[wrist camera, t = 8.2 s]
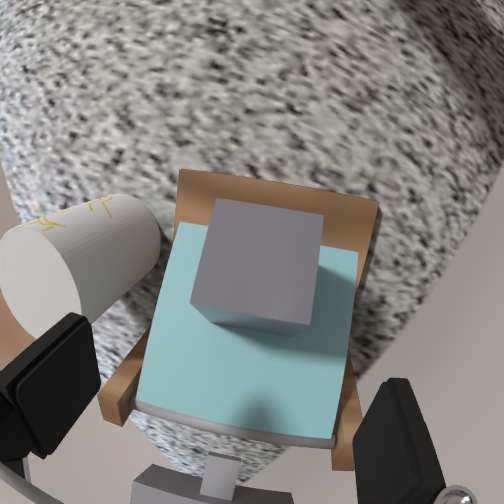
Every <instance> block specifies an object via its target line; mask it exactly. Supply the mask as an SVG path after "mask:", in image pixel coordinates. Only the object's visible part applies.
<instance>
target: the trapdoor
mask: <svg viewBox="0 0 504 504" xmlns="http://www.w3.org/2000/svg"><path fill="white" fill-rule="evenodd" d="M208 227H209V226H204V225H198V224H192V223H186V222H180V223H179V226H178V230H177V233H176V236H175V240H174V243H173V246H172V250H171V253H170V257H169V260H168V264H167V268H166V271H165V275H164V279H163V282H162V286H161V290H160V294H159V297H158V301H157V305H156V309H155V313H154V317H153V321H152V326H151V330H150V334H149V338H148V343H147V347H146V352H145V356H144V361H143V366H142V370H141V375H140V380H139V385H138V390H137V395H133V397H132V399H131V403H130V407H131V409H134V410H137V411H140V412H143V413H146V414H149V415H152V416H155V417H159V418H162V419H165V420H169V421H172V422H175V423H179V424H183V425H186V426H190V427H194V428H198V429H202V430H206V431H211V432H215V433H219V434H224V435H229V436H234V437H239V438H244V439H250V440H256V441H262V442H268V443H275V444H282V445H290V446H299V447H309V448H320V449H333V447H334V444H335V435H334V434H332V432H333V427H334V423H335V418H336V413H337V408H338V403H339V398H340V393H341V387H342V382H343V376H344V370H345V364H346V358H347V351H348V344H349V337H350V330H351V322H352V314H353V305H354V296H355V286H356V275H357V263H358V252H354V251H348V250H343V249H337V248H332V247H326V246H321V245H320V254H319V262H318V270H317V278H316V285H315V292H314V300H313V307H312V313H311V320H310V325H309V326H308V327H306V328H305V329H304V330H302V331H301V332H300V333H298V334H297V335H296V336H294V337H287V336H281V335H275V334H269V333H263V332H258V331H252V330H247V329H242V328H236V327H231V326H226V325H221V324H216V323H212V322H209V321H208V320H207V319H206V318H205V317H204V316H203V315H202V314H201V313H200V312H199V311H197V310H196V309H195V308H194V307H193V306H192V305H191V304H190V303H189V302H190V298H191V294H192V290H193V286H194V281H195V277H196V273H197V269H198V265H199V261H200V257H201V253H202V250H203V246H204V242H205V238H206V234H207V230H208ZM240 462H241V458H239V457H234V456H229V455H224V454H219V453H215V452H210V451H209V453H208V455H207V460H206V465H205V470H204V475H203V478H200V477H196V476H192V475H189V474H185V473H181V472H178V471H174V470H171V469H167V468H164V467H161V466H157V465H155V464H152V465H151V466H150V467H148V468H147V469H146V470H145V471H144V472H143V473H141V474H140V475H139V476H138V477H137V478H136V479H134V481H133V485H132V492H131V501H130V504H294V502H293V498H292V494H291V493H289V492H279V491H271V490H263V489H256V488H250V487H244V486H238V485H235V484H236V480H237V476H238V471H239V467H240Z"/></svg>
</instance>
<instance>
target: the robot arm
mask: <svg viewBox="0 0 504 504" xmlns="http://www.w3.org/2000/svg"><path fill="white" fill-rule="evenodd" d="M100 386H101V379H100V374H99V369H98V363H97V358H96V352H95V346H94V340H93V333H92V326H91V324H90V323H89V322H88V319H87V317H85V316H83V315H80V314H77V313H74V312H70V313H68V314H67V315H66V316H64V317H63V318H62V319H61V320H59V321H58V322H57V323H56V324H55V325H53V326H52V327H51V328H50V329H49V330H47V331H46V332H45V333H44V334H43V335H41V336H40V337H39V338H38V339H37V340H36V341H34V342H33V343H32V344H31V345H30V346H29V347H27V348H26V349H25V350H24V351H23V352H22V353H21V354H19V355H18V356H17V357H16V358H15V359H14V360H13V361H11V363H9V364H8V365H7V366H6V367H5V368H4V369H3V370H2V371H0V504H64V503H62V502H60V501H59V500H57V499H55V498H53V497H52V496H50V495H48V494H47V493H45V492H43V491H42V490H40V489H39V488H37V487H35V486H34V485H32V483H31V477H30V472H29V465H28V458H27V455H28V454H29V453H30V451H31V452H32V453H34V454H35V455H37V456H38V457H40V458H41V459H43V460H44V459H45V458H46V456H47V455H51V454H52V453H53V452H54V451H55V450H56V448H57V447H58V445H59V444H60V443H61V441H62V440H63V438H64V437H65V436H66V434H67V433H68V431H69V430H70V429H71V427H72V426H73V425H74V423H75V422H76V421H77V419H78V418H79V416H80V415H81V414H82V412H83V411H84V410H85V408H86V407H87V406H88V404H89V403H90V402H91V400H92V399H93V397H94V396H95V395H96V394H97V392H98V391H99V389H100ZM352 447H353V456H354V465H355V474H356V486H357V497H358V504H477V500H476V498H475V495H474V494H473V493H472V492H471V491H470V490H469V489H467V488H465V487H462V486H458V485H453V486H450V487H446V484H445V480H444V477H443V474H442V470H441V467H440V464H439V461H438V458H437V455H436V452H435V449H434V446H433V443H432V440H431V437H430V434H429V431H428V428H427V425H426V423H425V421H424V419H423V416H422V413H421V411H420V408H419V405H418V403H417V401H416V398H415V395H414V392H413V390H412V388H411V385H410V382H409V381H408V379H406V378H389V379H388V380H387V382H383V383H382V384H381V386H380V388H379V390H378V392H377V394H376V396H375V398H374V400H373V402H372V404H371V405H370V407H369V409H368V411H367V413H366V415H365V417H364V418H363V420H362V422H361V424H360V426H359V427H358V429H357V431H356V433H355V434H354V437H353V441H352Z"/></svg>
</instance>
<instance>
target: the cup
mask: <svg viewBox="0 0 504 504" xmlns="http://www.w3.org/2000/svg"><path fill="white" fill-rule="evenodd" d="M160 251H161V234H160V230H159V226H158V224H157V221H156V219H155V217H154V215H153V214H152V212H151V211H150V210H149V208H148V207H147V206H146V205H145V204H144V203H142V202H141V201H140V200H138V199H137V198H135V197H133V196H130V195H126V194H113V195H109V196H106V197H102V198H99V199H96V200H92V201H89V202H86V203H83V204H79V205H76V206H73V207H70V208H67V209H64V210H61V211H58V212H55V213H52V214H49V215H46V216H43V217H41V218H38V219H35V220H32V221H29V222H27V223H24V224H21V225H19V226H16V227H13V228H11V229H10V230H8V231H7V232H6V233H5V234H4V236H3V237H2V239H1V241H0V287H1V290H2V293H3V296H4V298H5V300H6V303H7V305H8V307H9V308H10V310H11V312H12V313H13V315H14V316H15V318H16V319H17V321H18V322H19V323H20V324H21V325H22V327H23V328H24V329H25V330H26V331H27V332H28V333H30V334H31V335H32V336H33V337H34V338H36V339H38V338H39V337H40V336H41V335H43V334H44V333H45V332H46V331H47V330H49V329H50V328H51V327H52V326H53V325H55V324H56V323H57V322H58V321H59V320H61V319H62V318H63V317H64V316H66V315H67V314H68V313H70V312H74V313H77V314H80V315H83V316H85V317H87V319H88V322H89V323H90V324H92V323H93V322H94V321H95V320H97V319H98V318H99V317H100V316H101V315H102V314H103V313H104V312H105V311H106V310H107V309H108V308H110V307H111V306H112V305H113V304H114V303H115V302H116V301H117V300H118V299H119V298H121V297H122V296H123V295H124V294H125V293H126V292H127V291H128V290H129V289H131V288H132V287H133V286H134V285H135V284H136V283H137V282H138V281H140V280H141V279H142V278H143V277H144V276H145V275H146V274H147V273H149V272H150V271H151V270H152V269H153V267H154V266H155V265H156V263H157V261H158V258H159V256H160Z"/></svg>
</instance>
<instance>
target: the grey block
mask: <svg viewBox="0 0 504 504" xmlns="http://www.w3.org/2000/svg"><path fill="white" fill-rule="evenodd" d="M323 217H324V215H319V214H313V213H307V212H302V211H296V210H290V209H285V208H279V207H273V206H266V205H260V204H254V203H248V202H241V201H235V200H228V199H221V198H216V201H215V205H214V208H213V212H212V215H211V219H210V223H209V227H208V230H207V234H206V238H205V242H204V246H203V250H202V253H201V257H200V261H199V265H198V269H197V273H196V277H195V281H194V286H193V290H192V294H191V298H190V302H189V303H190V304H191V305H192V306H193V307H194V308H195V309H196V310H197V311H199V312H200V313H201V314H202V315H203V316H204V317H205V318H206V319H207V320H208V321H209V322H212V323H216V324H221V325H226V326H231V327H236V328H242V329H247V330H252V331H258V332H263V333H269V334H275V335H281V336H287V337H294V336H296V335H297V334H298V333H300V332H301V331H302V330H304V329H305V328H306V327H308V326H309V325H310V320H311V313H312V307H313V300H314V292H315V285H316V278H317V270H318V262H319V254H320V245H321V236H322V227H323Z"/></svg>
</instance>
